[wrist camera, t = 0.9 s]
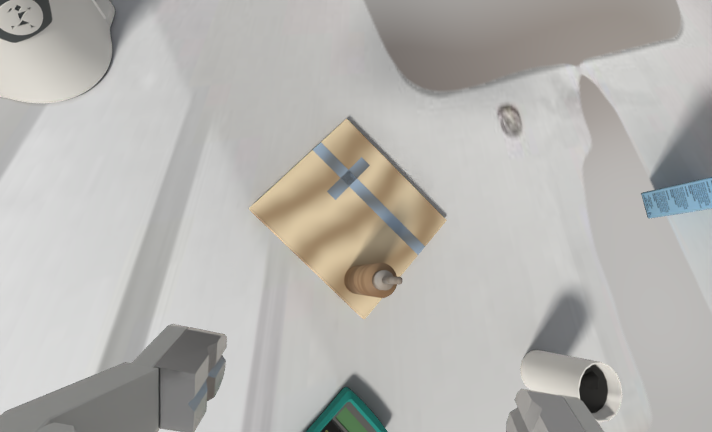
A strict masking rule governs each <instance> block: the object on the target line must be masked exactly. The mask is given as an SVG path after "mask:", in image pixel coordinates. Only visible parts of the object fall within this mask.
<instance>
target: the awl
mask: <svg viewBox="0 0 712 432" xmlns="http://www.w3.org/2000/svg"><path fill="white" fill-rule="evenodd" d="M344 283H345V286H346V288H347V289H348V290H349V291H350V292H351V293H354V294H359V295H365V296H371V297H377V298H385V297H387V296H389V295H391V294H392V293H393V292H394V290H395V288H396V286H397V284H401V283H402V278H401V277H397V275H396V273H395V271H394V269H393V268H392V267H391V266H389V265H388V264H385V263H374V264H366V265H358V266H353V267H351V268H350V269H349V270H348V271H347V272H346V274H345V277H344Z"/></svg>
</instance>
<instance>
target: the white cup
mask: <svg viewBox="0 0 712 432" xmlns="http://www.w3.org/2000/svg"><path fill="white" fill-rule="evenodd" d="M520 370H521V378H522V380H523V382H524V384H525V385H526V386H527V387H528V388H529V389H530V390H532V391H538V392H544V393H549V394H555V395H564V396H570V397H577V398H579V399H580V400H582V401H583V402H584V404H585V405H586V407H587V408H588V410H589V411H590V412H591V414H592V415H593V417H594V418H595V420H596V421H598V422H605V421H609V420H610V419H612V418H613V417H614V416H615V415H616V414H617V412H618V410H619V408H620V406H621V401H622V388H621V382H620V380H619V378H618V376H617V374H616V372H615V371H614V370H613V369H612V368H611V367H610V366H609V365H607V364H604V363H602V362H597V361H592V360H587V359H582V358H577V357H572V356H567V355H561V354H556V353H551V352H546V351H541V350H532V351H530V352H529V353H527V354H526V355H525V357H524V358H523V360H522V363H521V368H520Z"/></svg>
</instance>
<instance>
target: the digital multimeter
mask: <svg viewBox="0 0 712 432" xmlns="http://www.w3.org/2000/svg"><path fill="white" fill-rule="evenodd" d="M330 420H331V421H330ZM322 429H323V430H322ZM321 430H322V431H321ZM306 432H387V430H386V429H385V428H384V426H383V425H382V424H381V422H380V421H379V420H378V419H377V417H376V416H375V415H374V414H373V412H372V411H371V410H370V409H369V408H368V407H367V406H366V404H365V403H364V402H363V401H362V400H361V399H360V398H359V397H358V396H357V395H356V394H355V393H354V392H352V391H351V390H350V389H349V388H348V387H344V388H343V389H342V390H341V391H340V393H339V394H338V395H337V396H336V397H335V398H334V400H333V401H332V402H331V403H330V404H329V406H328V407H327V408H326V409H325V410H324V412H323V413H322V414H321V415H320V416H319V417H318V419H317V420H316V421H315V422H314V423H313V424H312V425H311V426H310V428H309V429H308V430H307V431H306Z"/></svg>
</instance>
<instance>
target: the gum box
mask: <svg viewBox="0 0 712 432" xmlns="http://www.w3.org/2000/svg"><path fill="white" fill-rule="evenodd" d="M641 195H642V198H643V202H644V206H645V210H646V212H647V217H648V218H655V217H662V216H668V215H675V214H681V213H688V212H694V211H700V210H707V209H712V177H710V178H705V179H701V180H697V181H692V182H688V183H684V184H679V185H675V186H670V187H666V188H661V189H657V190H652V191H648V192H643V193H641Z"/></svg>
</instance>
